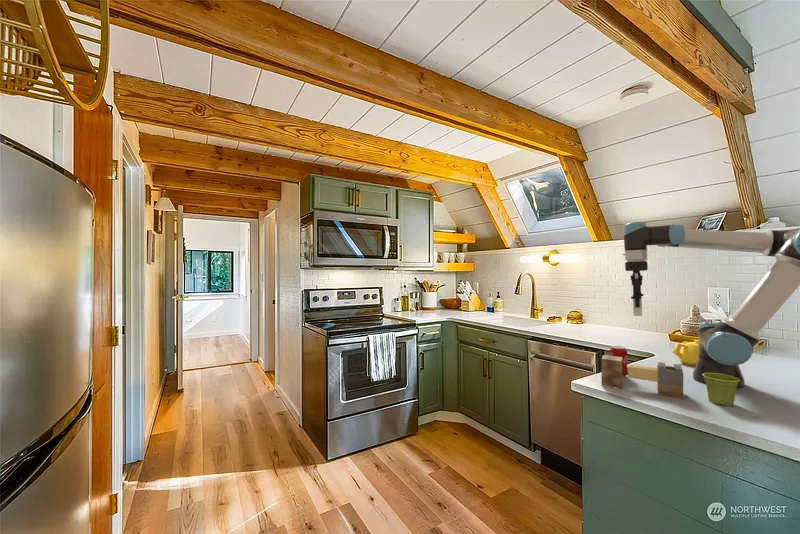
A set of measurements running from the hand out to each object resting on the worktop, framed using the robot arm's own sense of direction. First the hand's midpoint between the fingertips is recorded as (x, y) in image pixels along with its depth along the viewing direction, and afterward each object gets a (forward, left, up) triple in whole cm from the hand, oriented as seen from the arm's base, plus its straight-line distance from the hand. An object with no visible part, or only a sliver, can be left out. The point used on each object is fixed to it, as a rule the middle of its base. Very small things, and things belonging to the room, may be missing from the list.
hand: (638, 313), depth 144 cm
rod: (-5, +13, -22) cm, 26 cm away
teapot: (-22, -45, -27) cm, 57 cm away
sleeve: (-10, +13, -26) cm, 31 cm away
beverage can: (+7, -1, -27) cm, 27 cm away
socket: (+8, +13, -26) cm, 30 cm away
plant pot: (-23, +14, -27) cm, 38 cm away
